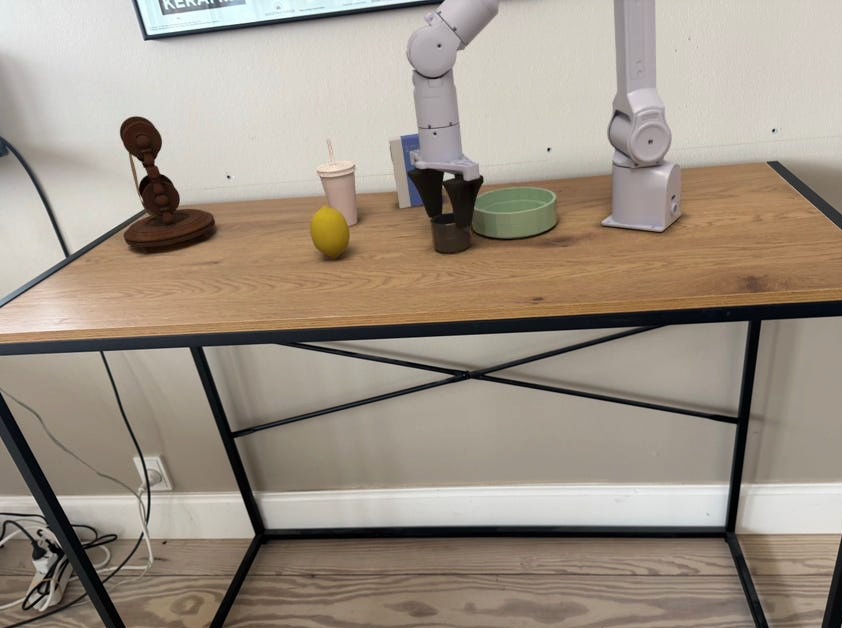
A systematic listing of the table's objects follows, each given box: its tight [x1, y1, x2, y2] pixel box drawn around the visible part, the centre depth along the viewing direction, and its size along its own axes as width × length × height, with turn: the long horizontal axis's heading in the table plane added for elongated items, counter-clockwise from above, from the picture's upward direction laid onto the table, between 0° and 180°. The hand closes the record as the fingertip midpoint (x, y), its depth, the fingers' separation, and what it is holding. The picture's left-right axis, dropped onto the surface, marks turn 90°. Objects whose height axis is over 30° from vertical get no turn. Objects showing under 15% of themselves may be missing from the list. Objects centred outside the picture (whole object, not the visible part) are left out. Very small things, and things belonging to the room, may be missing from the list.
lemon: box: [309, 205, 350, 259], centre depth 101 cm, size 6×6×8 cm
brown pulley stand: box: [119, 115, 216, 255], centre depth 115 cm, size 15×15×20 cm
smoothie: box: [315, 138, 358, 227], centre depth 114 cm, size 6×6×14 cm
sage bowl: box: [472, 186, 558, 240], centre depth 107 cm, size 13×13×4 cm
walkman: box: [388, 133, 444, 209], centre depth 120 cm, size 8×3×12 cm, turn 99°
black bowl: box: [429, 211, 473, 254], centre depth 101 cm, size 6×6×4 cm
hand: (449, 221), depth 100 cm, fingers open, 7 cm apart
